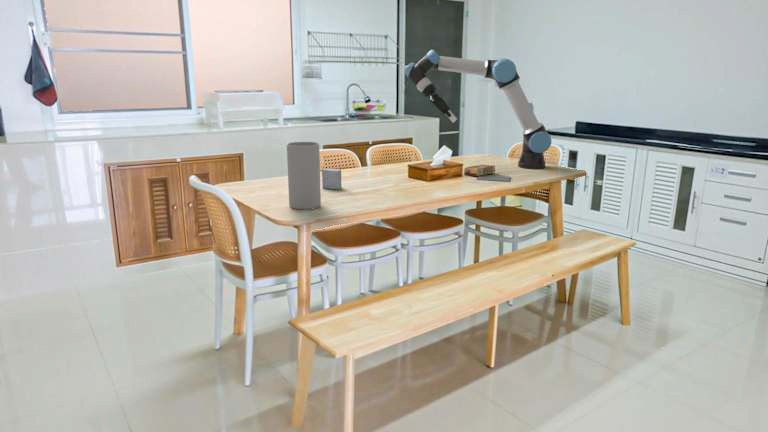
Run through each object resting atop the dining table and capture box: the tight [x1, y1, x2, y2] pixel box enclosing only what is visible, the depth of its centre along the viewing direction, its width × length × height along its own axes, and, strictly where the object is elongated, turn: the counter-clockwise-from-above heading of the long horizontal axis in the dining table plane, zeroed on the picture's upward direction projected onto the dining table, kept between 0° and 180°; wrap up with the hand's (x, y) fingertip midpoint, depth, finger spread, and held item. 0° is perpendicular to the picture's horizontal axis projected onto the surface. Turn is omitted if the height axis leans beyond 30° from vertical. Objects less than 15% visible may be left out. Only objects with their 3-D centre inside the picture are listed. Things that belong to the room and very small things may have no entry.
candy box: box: [463, 164, 496, 177], centre depth 275 cm, size 9×4×15 cm
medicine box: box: [321, 168, 342, 190], centre depth 240 cm, size 8×4×9 cm, turn 71°
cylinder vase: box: [286, 141, 322, 210], centre depth 206 cm, size 12×12×25 cm
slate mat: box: [476, 174, 512, 183], centre depth 266 cm, size 16×12×1 cm
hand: (455, 120), depth 275 cm, fingers closed
